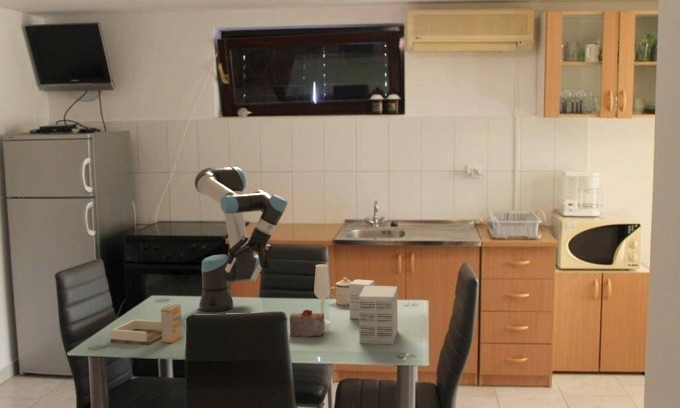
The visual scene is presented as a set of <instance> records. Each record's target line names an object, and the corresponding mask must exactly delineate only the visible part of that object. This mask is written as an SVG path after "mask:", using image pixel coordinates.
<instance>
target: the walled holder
mask: <svg viewBox="0 0 680 408" xmlns="http://www.w3.org/2000/svg"><path fill="white" fill-rule="evenodd" d="M110 331H111V332H110V334H111V339H110V342H111V343H120V344H121V343H122V344H133V345H134V344H135V345H145V346H150V345H152V344H155V343H156V342H158V341H159V340H162V326H161V320H152V319H151V320H150V319H149V320H148V319H139V318H138V319H132V320H130V321H127V322H126V323H123V324H121V325H118V326H117V327H115V328H113V329H111V330H110Z"/></svg>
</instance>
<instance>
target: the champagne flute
mask: <svg viewBox="0 0 680 408" xmlns="http://www.w3.org/2000/svg"><path fill="white" fill-rule="evenodd" d="M328 266H329V265H328V264H323V263H321V264H316V265H315V272H314V286H313V288H314V289H313V293H314V295H315V297H317V299H319V300H320V313H323V314H324V315H325V302H324V300H326V299H327V298H328V297H329V296H330V288H331V285H330V276H329V270H328ZM324 319H325V320H324V323H325V324H324V326H327V325H330V324H331V320H328V319H326V318H325V317H324Z"/></svg>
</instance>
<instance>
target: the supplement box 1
mask: <svg viewBox="0 0 680 408" xmlns="http://www.w3.org/2000/svg"><path fill="white" fill-rule="evenodd" d="M160 321H161V326H162V339H161V343H169V344H173V343H175V342H176V341H177V340H179V339H181V338H182V337H183V330H182V305H181V304H178V303H169V304H168V305H166V306H165V307H163V308H161V309H160Z"/></svg>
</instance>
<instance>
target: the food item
mask: <svg viewBox="0 0 680 408" xmlns="http://www.w3.org/2000/svg"><path fill="white" fill-rule="evenodd" d="M324 318H325V313H324V314H323V313H321V312H320V313H315V312H314V313H313V310H309V309H304V310H303V312H293V313H291V314H290V316H289V327H290V328H289V337H303V338H310V337H320V336H322V335H323V334H324V333H325V325H324V324H325V323H324V320H325V319H326V318H325V319H324Z"/></svg>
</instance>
